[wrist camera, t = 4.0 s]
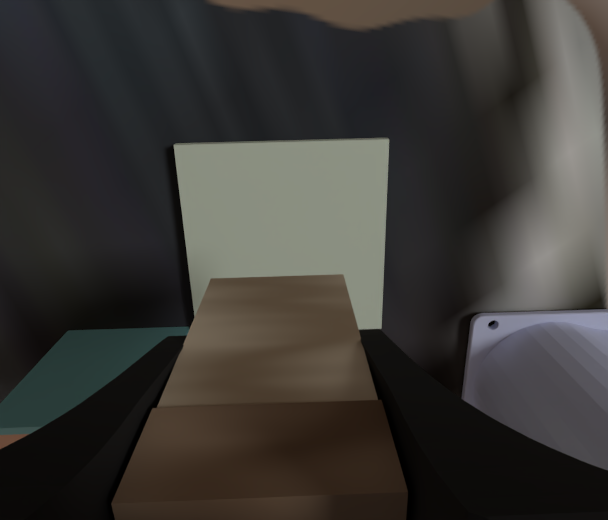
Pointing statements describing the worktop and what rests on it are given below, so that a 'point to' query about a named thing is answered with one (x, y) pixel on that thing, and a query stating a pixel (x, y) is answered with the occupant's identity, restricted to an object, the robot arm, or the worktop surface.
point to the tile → (74, 375)
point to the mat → (287, 213)
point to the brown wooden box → (267, 414)
